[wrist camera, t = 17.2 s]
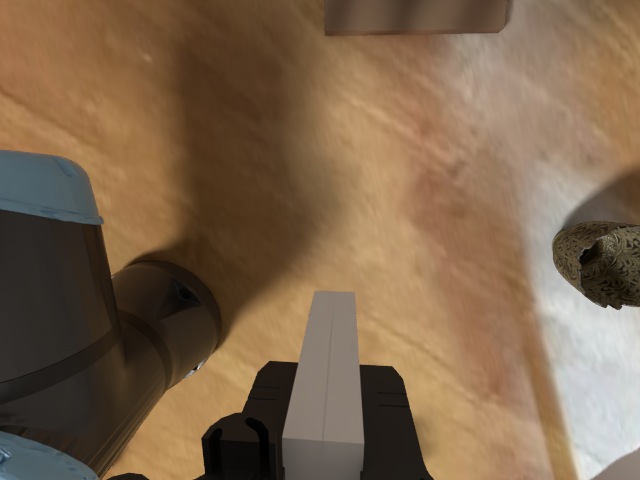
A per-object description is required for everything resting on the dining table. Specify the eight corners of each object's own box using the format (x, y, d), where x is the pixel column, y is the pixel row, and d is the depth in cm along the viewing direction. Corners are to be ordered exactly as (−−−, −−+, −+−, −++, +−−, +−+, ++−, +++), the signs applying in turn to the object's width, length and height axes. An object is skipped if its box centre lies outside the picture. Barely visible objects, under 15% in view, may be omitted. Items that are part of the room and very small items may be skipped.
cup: (554, 198, 34) (615, 212, 26) (619, 224, 34) (698, 246, 26) (516, 261, 36) (562, 291, 28) (578, 286, 36) (640, 322, 29)
